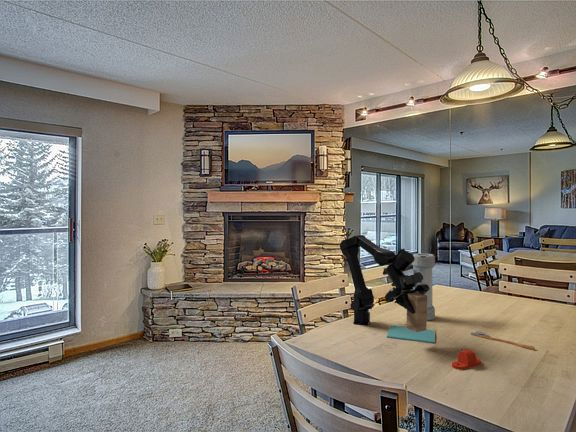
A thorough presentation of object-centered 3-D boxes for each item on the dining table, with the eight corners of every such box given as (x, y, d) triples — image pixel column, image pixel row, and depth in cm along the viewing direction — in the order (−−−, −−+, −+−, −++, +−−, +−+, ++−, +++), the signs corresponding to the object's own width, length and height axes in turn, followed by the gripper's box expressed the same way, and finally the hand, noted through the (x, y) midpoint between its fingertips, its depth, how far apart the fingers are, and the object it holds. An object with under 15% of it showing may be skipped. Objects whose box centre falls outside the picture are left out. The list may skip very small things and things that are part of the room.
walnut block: (406, 327, 135) (407, 293, 135) (416, 326, 137) (416, 292, 137) (416, 332, 130) (417, 296, 130) (426, 330, 133) (427, 295, 132)
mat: (386, 337, 144) (386, 335, 144) (390, 326, 157) (390, 325, 157) (434, 343, 137) (434, 341, 137) (434, 331, 150) (434, 330, 150)
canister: (411, 319, 167) (411, 255, 166) (412, 313, 176) (412, 253, 175) (434, 321, 163) (434, 256, 162) (434, 315, 172) (434, 253, 172)
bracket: (459, 371, 114) (459, 356, 114) (449, 366, 118) (449, 351, 118) (484, 364, 119) (484, 350, 119) (473, 360, 122) (474, 345, 122)
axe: (539, 346, 134) (539, 342, 133) (534, 352, 129) (534, 347, 129) (476, 332, 150) (476, 328, 150) (469, 336, 146) (469, 332, 146)
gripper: (390, 267, 132) (413, 304, 123) (426, 263, 141) (450, 297, 132) (376, 284, 140) (396, 320, 130) (410, 279, 148) (432, 313, 139)
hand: (419, 312), depth 132 cm, fingers closed on walnut block, 5 cm apart
